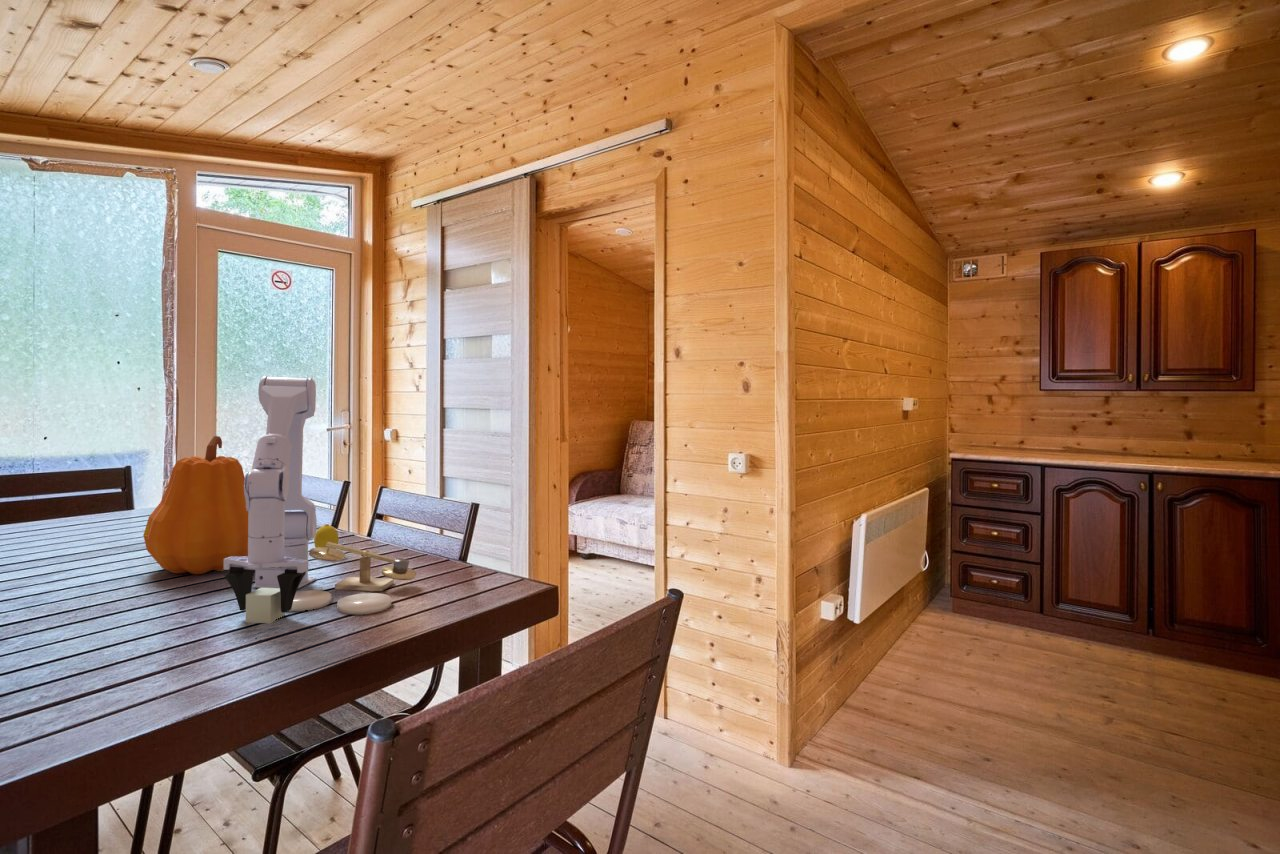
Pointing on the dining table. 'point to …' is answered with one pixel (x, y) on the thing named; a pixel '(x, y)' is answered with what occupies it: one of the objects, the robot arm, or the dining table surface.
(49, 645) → the dining table surface
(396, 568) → the balance beam
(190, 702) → the dining table surface
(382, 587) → the balance stand
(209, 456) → the decorative pumpkin
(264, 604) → the block
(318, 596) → the dish left
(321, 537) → the lemon
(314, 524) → the robot arm
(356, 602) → the dish right
